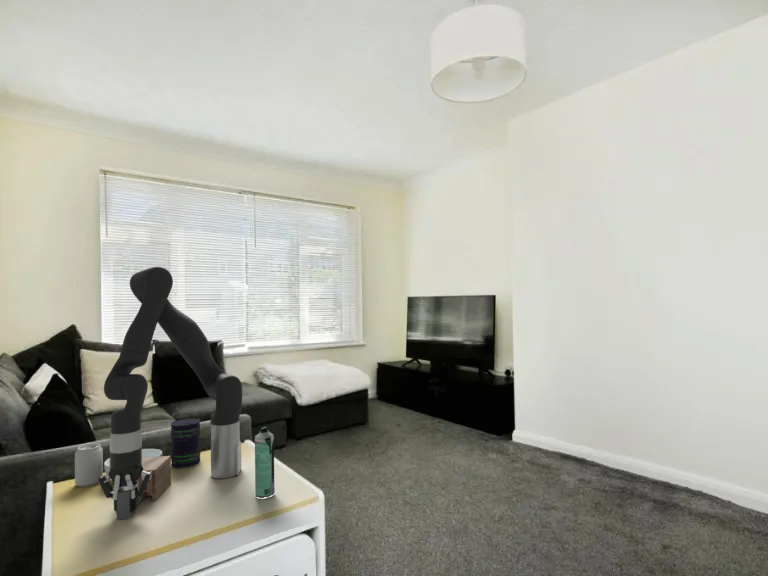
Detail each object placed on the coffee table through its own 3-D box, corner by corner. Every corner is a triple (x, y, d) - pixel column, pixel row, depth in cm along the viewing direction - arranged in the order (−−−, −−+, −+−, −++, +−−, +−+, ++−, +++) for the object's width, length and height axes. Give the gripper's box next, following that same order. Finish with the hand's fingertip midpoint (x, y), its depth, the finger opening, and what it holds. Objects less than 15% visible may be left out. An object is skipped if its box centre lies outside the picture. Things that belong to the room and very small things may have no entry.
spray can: (278, 493, 129) (277, 425, 130) (266, 501, 124) (265, 430, 125) (264, 490, 131) (263, 424, 132) (251, 497, 126) (250, 429, 127)
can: (108, 478, 144) (108, 442, 144) (90, 488, 136) (90, 449, 137) (87, 478, 145) (87, 442, 145) (68, 487, 137) (69, 449, 138)
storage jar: (167, 463, 157) (166, 422, 157) (194, 456, 163) (194, 416, 164) (175, 470, 150) (175, 427, 150) (204, 463, 156) (204, 421, 157)
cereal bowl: (132, 467, 154) (132, 447, 154) (173, 469, 151) (173, 449, 151) (91, 487, 137) (91, 464, 138) (136, 490, 134) (136, 467, 134)
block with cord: (161, 488, 135) (161, 465, 135) (132, 518, 116) (132, 491, 116) (144, 489, 134) (144, 466, 135) (112, 519, 115) (112, 493, 115)
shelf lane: (170, 484, 138) (170, 455, 138) (155, 501, 126) (155, 469, 126) (141, 486, 137) (141, 457, 137) (122, 503, 125) (122, 472, 125)
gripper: (158, 441, 123) (158, 503, 122) (105, 444, 121) (105, 507, 120) (147, 450, 115) (147, 516, 115) (91, 453, 114) (90, 520, 113)
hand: (126, 511), depth 117 cm, fingers closed on block with cord, 3 cm apart
